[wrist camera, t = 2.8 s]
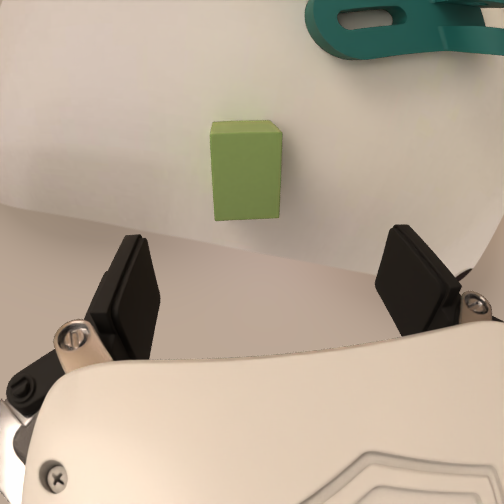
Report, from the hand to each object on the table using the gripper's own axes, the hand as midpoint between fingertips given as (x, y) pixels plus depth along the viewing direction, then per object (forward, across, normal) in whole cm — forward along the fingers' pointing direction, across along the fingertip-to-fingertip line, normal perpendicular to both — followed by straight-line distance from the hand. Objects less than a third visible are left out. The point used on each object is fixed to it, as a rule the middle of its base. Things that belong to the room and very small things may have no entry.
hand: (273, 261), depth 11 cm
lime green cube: (+14, 0, 0) cm, 14 cm away
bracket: (+14, -13, -14) cm, 24 cm away
